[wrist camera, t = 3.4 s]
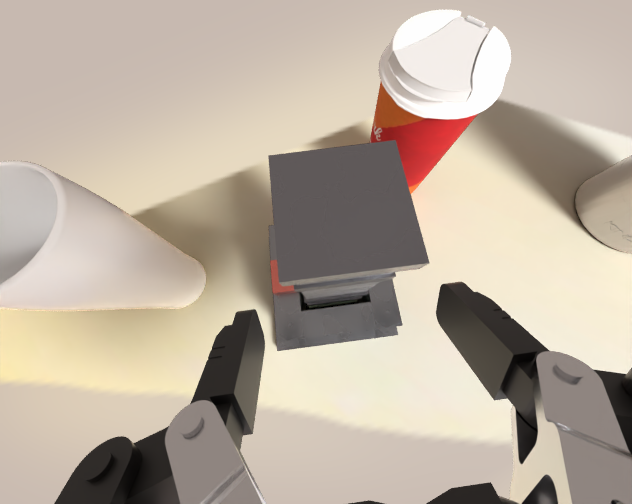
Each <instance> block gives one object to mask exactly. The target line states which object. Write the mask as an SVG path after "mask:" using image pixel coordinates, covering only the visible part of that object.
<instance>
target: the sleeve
mask: <svg viewBox="0 0 632 504" xmlns="http://www.w3.org/2000/svg"><path fill="white" fill-rule="evenodd" d="M269 236H270V237H269V245H270V258H271V260H270V264H271V277H272V291H273V299H274V313H275V326H276V340H277V351H281V350H289V349H296V348H304V347H311V346H319V345H326V344H334V343H341V342H349V341H356V340H364V339H371V338H379V337H386V336H394V335H398V332H397V328H396V326H402V321H401V317H400V312H399V308H398V303H397V299H396V294H395V290H394V285H393V281H392V279H391V280H389V281H381V282H379V283H377V284H376V285H375V286H373V287H372V288H370V289H369V290H368V291H369V294H367V295H364V296H361V297H362V298H361V299H358V304H352V305H345V306H337V307H329V308H322V309H314V310H307V311H306V307H305V302H304V295H303V293H302V292H297V293H296V291H295V290H294V285H291V286H282V285H281V284H280V283H279V278H278V266H277V254H276V241H275V229H274V225H271V226H269Z"/></svg>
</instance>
